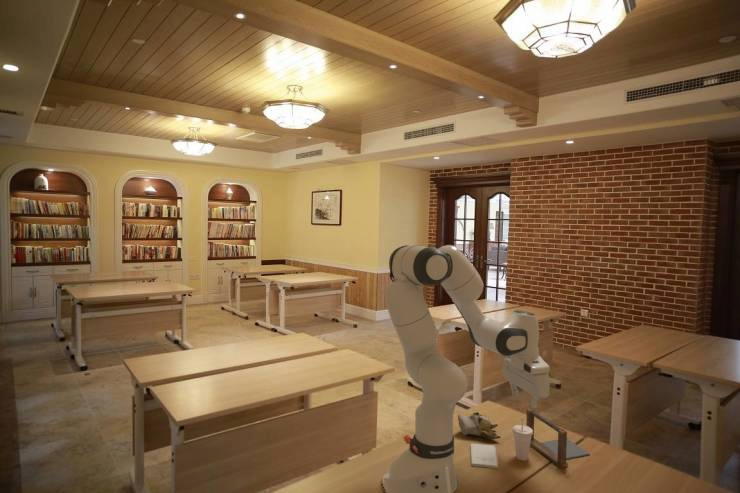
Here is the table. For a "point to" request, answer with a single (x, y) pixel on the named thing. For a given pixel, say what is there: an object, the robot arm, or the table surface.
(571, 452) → the mat
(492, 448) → the external hard drive
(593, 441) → the table surface
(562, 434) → the bar hurdle
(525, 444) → the smoothie
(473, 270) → the robot arm
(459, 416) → the ceramic sculpture
